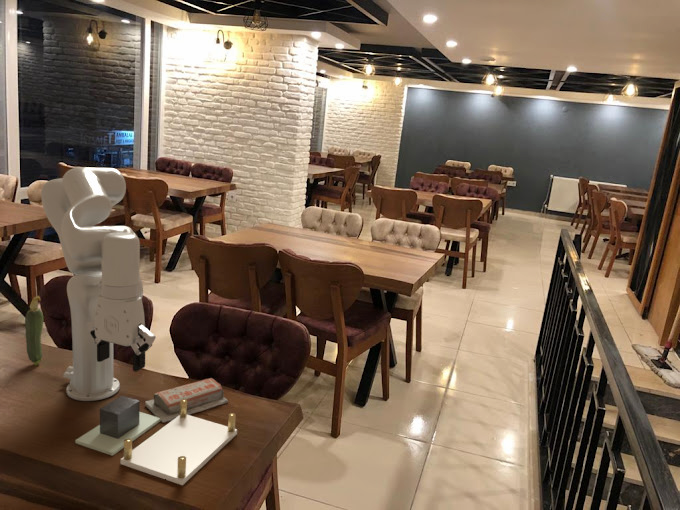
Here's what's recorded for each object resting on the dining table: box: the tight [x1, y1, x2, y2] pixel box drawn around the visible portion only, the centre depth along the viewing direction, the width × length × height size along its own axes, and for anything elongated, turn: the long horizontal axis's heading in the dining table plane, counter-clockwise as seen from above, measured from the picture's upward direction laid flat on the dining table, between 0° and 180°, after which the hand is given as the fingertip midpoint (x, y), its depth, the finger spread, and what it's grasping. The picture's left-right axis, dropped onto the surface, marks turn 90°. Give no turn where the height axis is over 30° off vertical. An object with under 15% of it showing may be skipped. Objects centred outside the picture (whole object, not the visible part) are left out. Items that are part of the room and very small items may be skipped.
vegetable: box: [24, 295, 44, 366], centre depth 152 cm, size 4×4×20 cm
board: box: [74, 395, 161, 456], centre depth 126 cm, size 10×16×7 cm, turn 160°
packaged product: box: [144, 377, 229, 423], centre depth 140 cm, size 18×5×10 cm
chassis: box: [120, 399, 238, 486], centre depth 122 cm, size 15×21×5 cm
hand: (120, 364), depth 122 cm, fingers open, 9 cm apart
